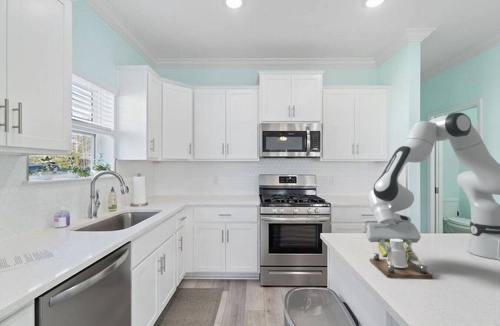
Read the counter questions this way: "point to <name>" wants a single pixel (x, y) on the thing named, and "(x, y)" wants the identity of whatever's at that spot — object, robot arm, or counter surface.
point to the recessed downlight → (397, 254)
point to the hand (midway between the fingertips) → (399, 251)
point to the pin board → (400, 269)
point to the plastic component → (387, 252)
